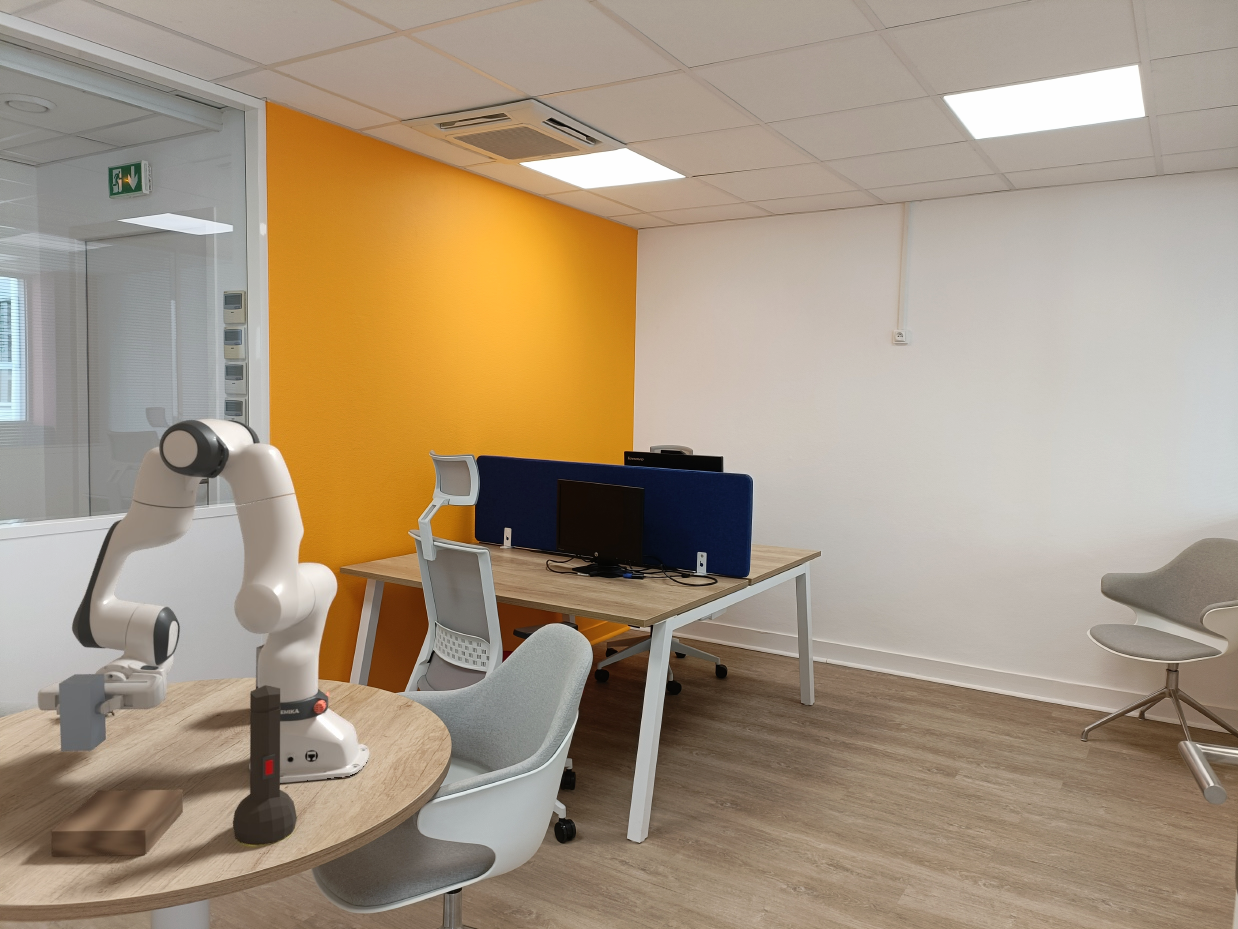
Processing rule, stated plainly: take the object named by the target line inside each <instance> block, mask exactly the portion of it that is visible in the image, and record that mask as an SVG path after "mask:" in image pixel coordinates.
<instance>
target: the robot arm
mask: <svg viewBox="0 0 1238 929" xmlns="http://www.w3.org/2000/svg"><path fill="white" fill-rule="evenodd" d="M282 455H283V454H282V453H281V452H280V450H279V448H277V447H276V446H274V445H273V444H268V443H263V442H262V443H261V442H260V439H259V436H258V434H257V433H256V431H255V430H254V429H253V428H252V427H250V426H249V425H248V424H246V423H244V422H241V421H238V420H233V419H232V420H224V419H218V418H217V419H216V418H200V419H186V420H183V421H179V422H177V423H175V424H173V425H171V426H170V427H168V428H167V429H166V430H165V431H164V432H163V434H162V435H161V438H160V439H159V444H158V446H155V447H153V448H151V449H150V450H148V451H147V452H146V453H145V454H144V456H143V459H142V462H141V464H140V467H139V470H138V473H137V476H136V480H135V483H134V489H133V494H132V501H131V503H130V504H131V505H130V508H129V509H128V511H127V513H126V514H125V516H124V517H123V518H122V519H120V520H117V521H115V522H114V523H113V524H112V525H111V526H110V527H109V529H108V530H107V533H106V534H105V537H104V539H103V542H102V545H101V546H100V550H99V553H98V555H97V558H96V561H95V564H94V567H93V570H92V572H91V576H90V578H89V582H88V584H87V588H86V589H85V592H84V595H83V597H82V599H81V601H80V604H79V606H78V608H77V611H76V612H75V614H74V618H73V621H72V624H71V625H72V626H71V630H72V633H73V635H74V637H75V638H76V640H77V641H78V642H79V644H80V645H81V646H83V647H84V648H87V649H89V648H90V649H91V648H93V649H110V650H116V651H122V652H123V654H122V655H121V656H120V657H118V658H115V659H113V660H112V661H110V662H108V663H107V664H105V665H104V666H102V667H100V668H99V669H98V670H97V671H96V672H95V673H94V674H104V684H105V702H99V703H98V704H96V706H95V709H96V711H95V713H96V714H105V715H107V714H108V713H107V712H109V711H113V712H114V711H116V710H150V709H153V708H157V707H158V706H160V705H161V703H163V702H164V701H165V700H166V698H167V675H168V674H169V672H170V671H171V669H172V668H173V664H174V654H175V652H176V649H177V647H178V643H179V639H180V631H181V626H180V623H179V620H178V618H177V616H176V614H175V612H174V611H173V610H172V609H171V608H170V607H168V606H163V605H157V604H152V603H145V602H143V603H142V602H136V601H130V600H123V599H119V598H117V597H116V595H115V591H116V588H117V586H118V583H119V579H120V578H121V574H122V571H123V568H124V566H125V565H124V564H125V563H126V560H127V558H129V556H130V555H131V554H132V553H135V552H139V551H142V550H149V549H154V548H158V547H162V546H166V545H170V544H172V543H174V542H176V541H178V540H180V539H181V538H183V536H185V535H186V533H187V532H188V531H190V528H191V525H192V523H193V519H194V514H195V508H196V500H197V494H198V488H199V485H200V483H201V481H202V480H203V479H204V478H205V479H215V478H217V477H221V478H222V479H224V480H225V481H226V482H227V483H228V484H229V487H230V489H231V492H232V496H233V500H234V505H235V511H236V514H237V519H238V522H239V528H240V531H241V537H242V541H243V550H244V555H243V556H244V558H243V561H244V562H243V563H244V564H243V574H242V575H243V576H242V583H241V586H240V589H239V592H238V593H237V595H236V597H235V601H234V614H235V617H236V619H237V621H238V623H239V624H240V626H241V627H242V628H244V630H246V631H248V632H249V633H252V634H255V635H257V634H259V635H262V634H263V635H264V634H268V635H267V638H266V640H265V643H264V644H265V645H264V644H263V645H264V646H263V648H262V650H261V652H260V654H259V658H258V688H260V687H262V686H265V685H267V686H272V687H276V688H280V784H284V783H285V784H286V783H294V782H295V783H297V782H306V781H307V780H308V781H317V780H328V779H327V778H331V779H335V778H334V777H342V776H350V775H352V774H354V773H356V772H358V771H359V770H360V769H361V768H362V767H363V766H364V765H365V764H366V762H367V760H368V761H369V759H370V749H369V747H368V746H367V745H366V744H365V743H364V744H363V743H359V741H358V735H357V731H356V728H355V726H354V725H353V724H352V723H351V722H350V721H348V720H347V719H345V718H343V717H342V716H341V715H339V714H337V713H336V712H334V711H333V710H332V709H330V708H329V699H330V691H327V692H326V693H324V692H323V691H322V690H321V689H319V660H320V657H319V656H320V650H321V642H322V639H323V634H324V630H325V625H326V621H327V617H328V612H329V609H330V607H331V605H332V602H333V601H334V599H335V597H336V595H337V592H338V581H337V578H336V575H335V574H334V572H333V571H332V569H330V568H329V567H328V566H326V564H325V565H324V564H323V563H319V562H318V563H317V562H299V554H300V553H299V552H300V545H301V542H302V539H303V536H304V533H305V528H304V524H303V520H302V516H301V511H300V508H299V504H298V499H297V496H296V491H295V488H294V484H293V480H292V478H291V474H290V471H289V469H288V466H287V464H286V462H285V458H284V457H283V456H282ZM64 680H65V679H64ZM64 680H59V681H57V682H55V683H52V684H49V685H48V686H45V687H43V688H41V689H40V690H39V691H38V692H37V706H38V709H39V710H40V711H44V712H46V711H56V715H58V716H60V701H59V683H61V682H63V681H64ZM106 713H107V714H106ZM368 758H369V759H368ZM367 763H368V762H367ZM366 765H367V764H366ZM366 765H365V766H366ZM248 769H249V771H250V762H249V764H248ZM359 772H360V771H359ZM359 772H358V773H359ZM350 777H351V776H350ZM342 778H343V777H342Z"/></svg>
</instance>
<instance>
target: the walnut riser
mask: <svg viewBox="0 0 1238 929" xmlns="http://www.w3.org/2000/svg"><path fill="white" fill-rule="evenodd" d="M183 793H184V790H183V789H141V790H140V789H131V790H130V789H126V790H123V789H121V790H120V789H119V790H117V789H115V790H114V789H113V790H110V789H109V790H106V789H105V790H100V789H99V790H96V791H95V792H94V793H93V794H92V795H91V796H90V797H89V798H88V799H87V800H86V801H84V802H83V803H82V804H80V805H79V806H78V807H77V808H76V809H75V810H74V811H73V812H72V813H71V814H69V815H67V817H66V818H65V819H64V820H62V821H61V822H60V823H59V824H58V825H57V826H56V827H54V828H53V829H52V830H51V857H87V856H91V857H92V856H94V857H95V856H146V855H147V854H148V853H149V852H150V850H151V849H152V848H153V847H154V846H155V845H156V844H157V842H158V841H159V840H161V838H162V837H163V836H164V834H165V833H166V832H167V831H168V829H170V828H171V826H173V824H174V823H175V822H176V821H177V820H178V819H179V817H180V816H181V815H182V814H183V813H184V804H183V803H184V802H183V801H184V795H183ZM147 852H148V853H147ZM145 854H146V855H145Z"/></svg>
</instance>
